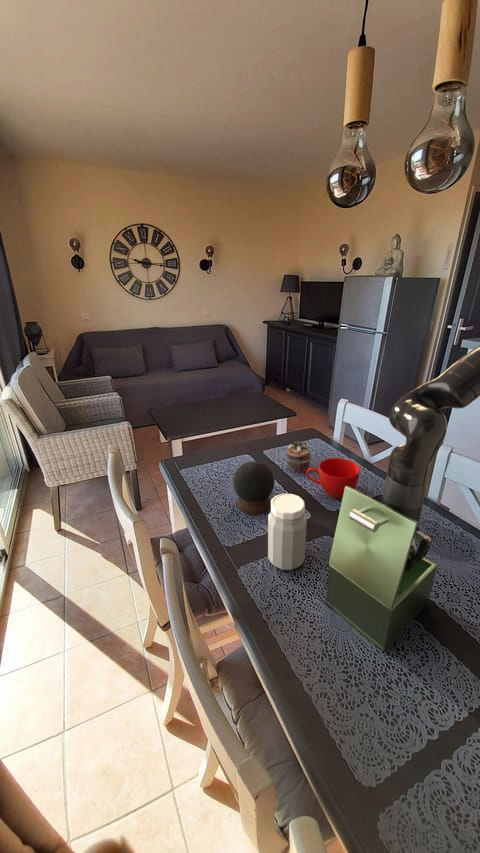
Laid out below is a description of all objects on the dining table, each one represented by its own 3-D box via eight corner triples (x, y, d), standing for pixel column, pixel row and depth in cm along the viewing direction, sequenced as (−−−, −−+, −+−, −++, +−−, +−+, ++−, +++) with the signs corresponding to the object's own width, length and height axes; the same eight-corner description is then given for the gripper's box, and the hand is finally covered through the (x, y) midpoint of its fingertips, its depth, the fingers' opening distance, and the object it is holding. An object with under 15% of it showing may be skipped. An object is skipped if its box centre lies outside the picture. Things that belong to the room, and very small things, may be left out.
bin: (370, 566, 92) (376, 529, 87) (427, 604, 82) (437, 564, 77) (325, 603, 83) (329, 564, 78) (383, 652, 72) (391, 610, 67)
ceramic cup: (306, 480, 130) (307, 455, 126) (355, 484, 127) (358, 459, 122) (304, 501, 118) (305, 475, 114) (358, 506, 115) (361, 479, 111)
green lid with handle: (347, 485, 72) (330, 491, 69) (418, 522, 61) (402, 531, 58) (330, 562, 78) (314, 571, 75) (393, 608, 67) (377, 620, 64)
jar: (300, 577, 90) (303, 518, 82) (262, 567, 93) (262, 510, 86) (307, 550, 98) (311, 495, 91) (273, 542, 101) (273, 488, 94)
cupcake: (280, 469, 137) (281, 445, 133) (292, 458, 145) (293, 436, 141) (303, 476, 132) (305, 452, 128) (314, 464, 140) (316, 441, 135)
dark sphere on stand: (244, 521, 110) (242, 479, 104) (227, 498, 121) (225, 459, 115) (281, 509, 115) (282, 468, 109) (262, 488, 126) (262, 450, 120)
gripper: (448, 505, 69) (432, 570, 76) (381, 475, 80) (372, 534, 86) (429, 521, 65) (413, 589, 72) (360, 487, 75) (352, 549, 82)
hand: (391, 559), depth 79 cm, fingers closed on lollipop, 6 cm apart
